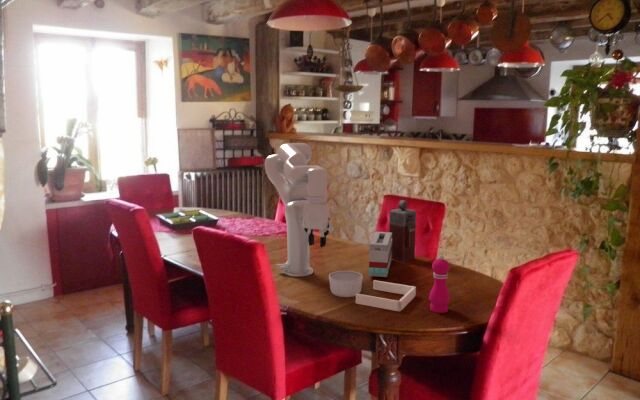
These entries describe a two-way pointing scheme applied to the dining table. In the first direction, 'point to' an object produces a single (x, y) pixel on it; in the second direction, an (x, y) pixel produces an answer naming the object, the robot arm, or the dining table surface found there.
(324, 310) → the dining table surface
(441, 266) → the pepper mill
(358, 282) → the ramekin
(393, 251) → the square decanter
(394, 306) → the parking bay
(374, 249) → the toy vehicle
